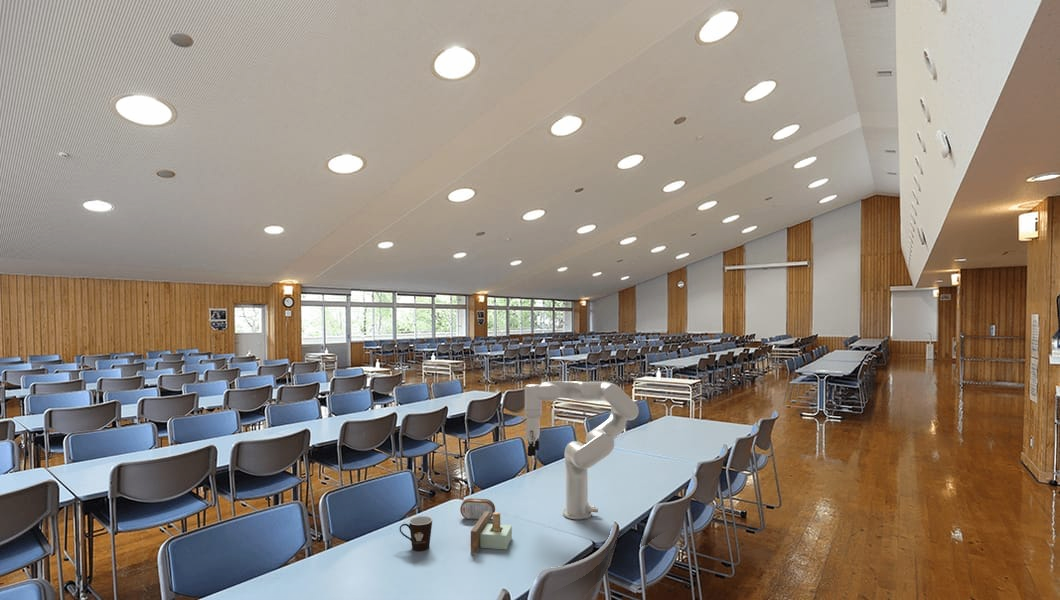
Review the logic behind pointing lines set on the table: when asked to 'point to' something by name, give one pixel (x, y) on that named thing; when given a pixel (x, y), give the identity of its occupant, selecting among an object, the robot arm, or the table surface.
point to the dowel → (496, 521)
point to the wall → (479, 531)
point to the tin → (476, 508)
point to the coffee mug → (419, 532)
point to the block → (496, 537)
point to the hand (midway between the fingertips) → (533, 452)
